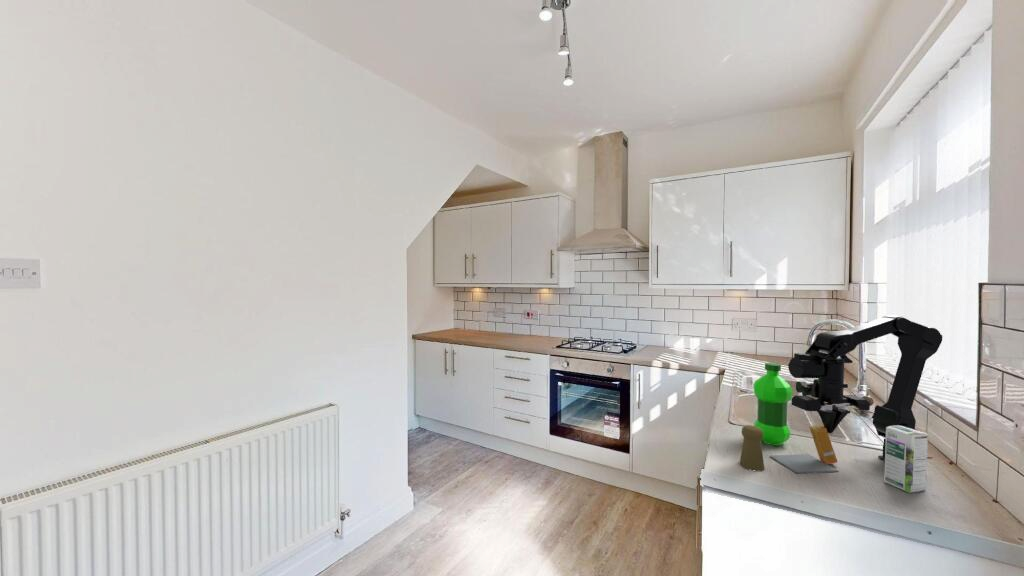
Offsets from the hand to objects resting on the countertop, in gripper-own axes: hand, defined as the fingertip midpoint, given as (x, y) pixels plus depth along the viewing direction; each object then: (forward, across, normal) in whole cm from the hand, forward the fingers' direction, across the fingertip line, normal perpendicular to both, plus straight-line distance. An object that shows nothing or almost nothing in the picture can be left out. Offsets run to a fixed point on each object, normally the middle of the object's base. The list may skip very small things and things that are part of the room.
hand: (829, 432), depth 113 cm
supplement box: (+8, 0, 0) cm, 8 cm away
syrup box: (+9, -9, +13) cm, 18 cm away
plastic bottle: (+9, +6, -15) cm, 18 cm away
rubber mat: (+9, +8, 0) cm, 12 cm away
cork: (+9, +23, 0) cm, 24 cm away
